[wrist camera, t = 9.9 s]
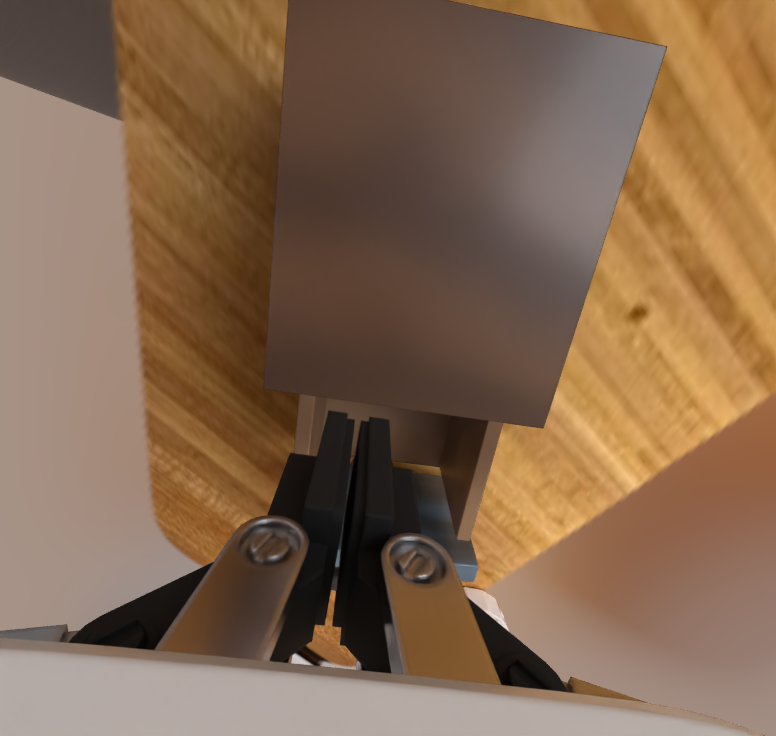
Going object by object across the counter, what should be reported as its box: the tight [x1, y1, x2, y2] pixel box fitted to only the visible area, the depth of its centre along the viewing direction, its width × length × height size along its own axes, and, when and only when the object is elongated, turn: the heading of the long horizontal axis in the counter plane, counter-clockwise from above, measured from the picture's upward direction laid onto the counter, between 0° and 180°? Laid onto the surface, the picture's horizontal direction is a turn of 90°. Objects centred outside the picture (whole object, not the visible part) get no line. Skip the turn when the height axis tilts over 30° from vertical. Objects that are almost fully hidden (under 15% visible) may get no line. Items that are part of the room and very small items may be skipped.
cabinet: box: [263, 0, 667, 428], centre depth 21 cm, size 15×13×10 cm
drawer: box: [294, 394, 503, 591], centre depth 26 cm, size 18×12×8 cm, turn 171°
